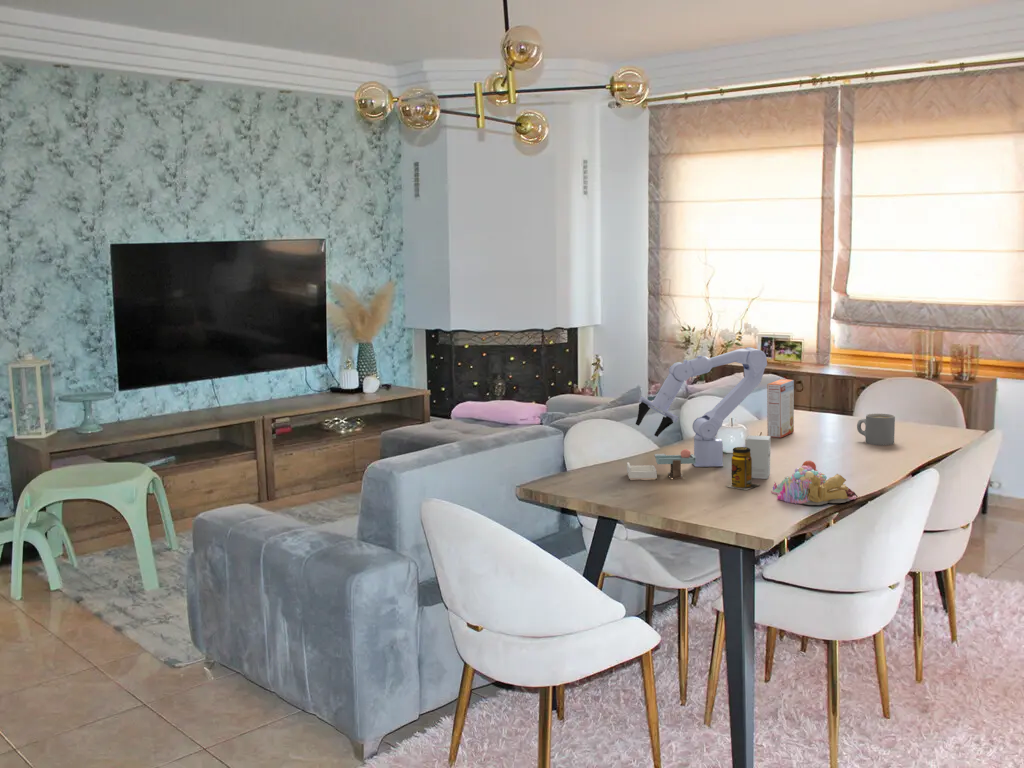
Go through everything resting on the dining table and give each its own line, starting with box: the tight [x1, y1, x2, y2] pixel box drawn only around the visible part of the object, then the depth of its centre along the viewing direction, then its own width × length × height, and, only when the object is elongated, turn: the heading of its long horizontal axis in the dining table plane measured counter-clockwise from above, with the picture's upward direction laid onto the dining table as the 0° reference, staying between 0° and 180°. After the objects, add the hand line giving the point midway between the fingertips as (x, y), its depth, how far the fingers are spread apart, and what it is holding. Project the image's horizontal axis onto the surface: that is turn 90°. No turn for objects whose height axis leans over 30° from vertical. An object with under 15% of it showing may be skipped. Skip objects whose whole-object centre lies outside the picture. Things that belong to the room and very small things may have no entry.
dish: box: [626, 461, 658, 479], centre depth 320 cm, size 9×9×4 cm
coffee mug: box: [856, 413, 896, 446], centre depth 366 cm, size 13×10×10 cm
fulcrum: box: [667, 460, 685, 480], centre depth 319 cm, size 4×8×6 cm, turn 178°
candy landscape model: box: [770, 460, 858, 506], centre depth 291 cm, size 25×24×9 cm
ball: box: [680, 448, 692, 458], centre depth 319 cm, size 3×3×3 cm
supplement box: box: [744, 435, 772, 480], centre depth 317 cm, size 7×7×13 cm
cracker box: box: [766, 378, 795, 439], centre depth 384 cm, size 14×6×21 cm, turn 144°
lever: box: [653, 453, 696, 465], centre depth 322 cm, size 12×12×2 cm
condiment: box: [726, 446, 762, 491], centre depth 304 cm, size 7×8×12 cm
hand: (646, 430), depth 333 cm, fingers open, 7 cm apart
